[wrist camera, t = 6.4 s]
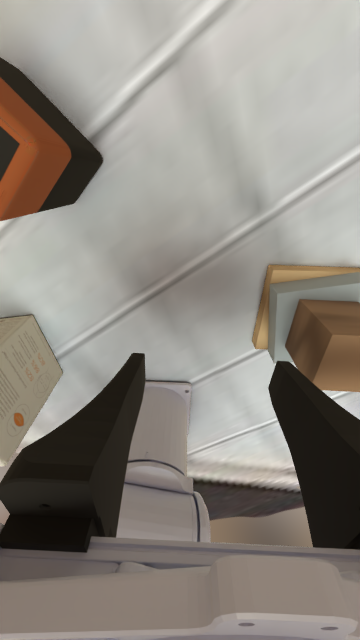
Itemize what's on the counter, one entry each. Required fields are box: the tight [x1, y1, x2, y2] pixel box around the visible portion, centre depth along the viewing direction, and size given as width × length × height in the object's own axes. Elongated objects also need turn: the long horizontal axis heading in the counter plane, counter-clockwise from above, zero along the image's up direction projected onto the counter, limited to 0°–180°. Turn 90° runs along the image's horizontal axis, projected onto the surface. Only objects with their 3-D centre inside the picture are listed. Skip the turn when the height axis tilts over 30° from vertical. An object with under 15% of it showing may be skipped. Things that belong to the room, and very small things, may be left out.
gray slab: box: [268, 272, 360, 363], centre depth 21 cm, size 7×7×2 cm
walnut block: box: [285, 299, 360, 392], centre depth 18 cm, size 4×4×5 cm
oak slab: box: [252, 265, 360, 349], centre depth 22 cm, size 8×8×2 cm
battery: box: [0, 58, 102, 221], centre depth 12 cm, size 4×7×10 cm, turn 45°
